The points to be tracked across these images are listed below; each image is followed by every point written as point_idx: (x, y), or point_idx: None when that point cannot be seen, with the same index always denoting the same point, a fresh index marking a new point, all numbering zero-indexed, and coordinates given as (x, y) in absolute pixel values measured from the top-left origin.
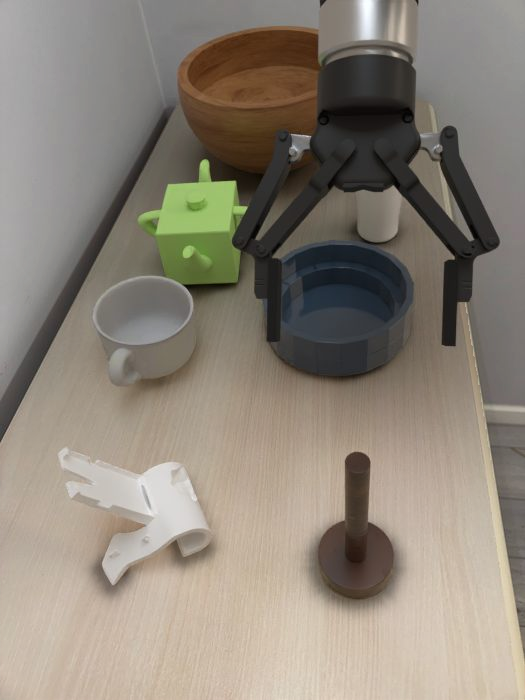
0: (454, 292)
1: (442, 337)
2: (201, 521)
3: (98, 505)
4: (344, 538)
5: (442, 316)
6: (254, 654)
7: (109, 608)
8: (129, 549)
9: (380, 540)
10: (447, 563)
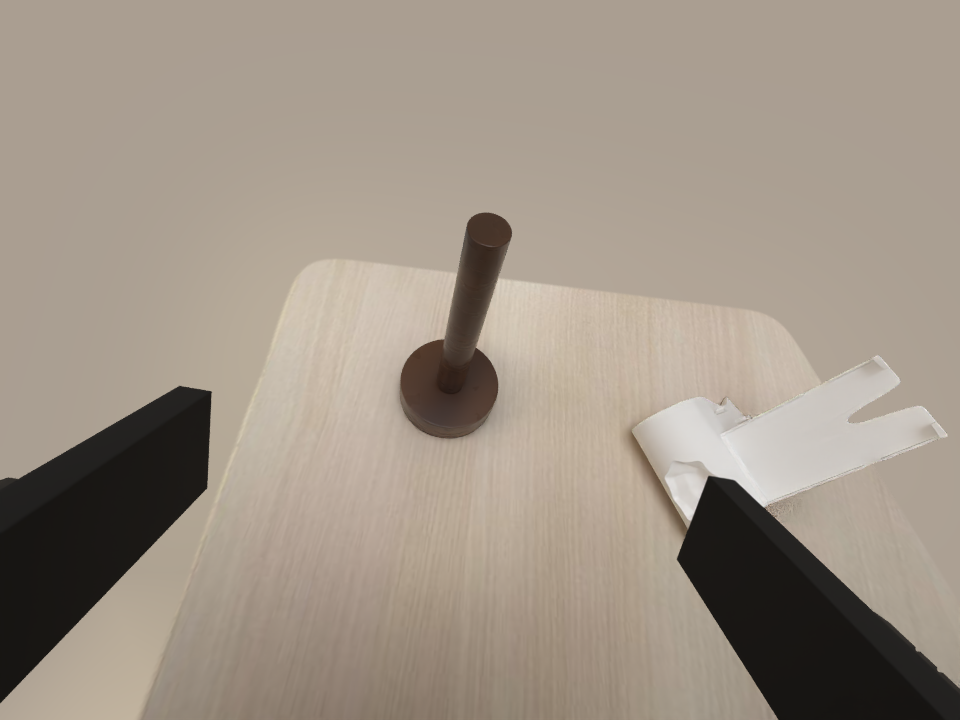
0: (45, 471)
1: (195, 481)
2: (657, 426)
3: (824, 383)
4: (462, 402)
5: (151, 542)
6: (560, 316)
7: (718, 375)
8: (729, 419)
9: (415, 393)
10: (329, 381)
